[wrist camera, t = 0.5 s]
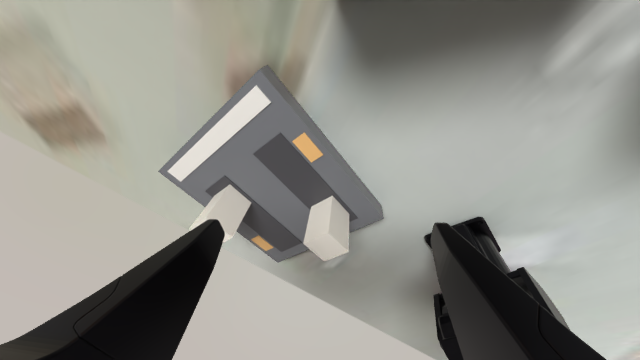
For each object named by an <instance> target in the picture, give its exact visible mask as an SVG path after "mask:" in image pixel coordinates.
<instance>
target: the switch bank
mask: <svg viewBox="0 0 640 360" xmlns="http://www.w3.org/2000/svg"><path fill="white" fill-rule="evenodd" d="M158 172H160V173H161V174H162V175H164V176H165V177H166V178H167V179H169V180H170V181H171V182H173V183H174V184H175V185H177V186H178V187H179V188H181V189H182V190H183V191H185V192H186V193H187V194H188V195H190V196H191V197H192V198H194V199H195V200H196V201H198V202H199V203H200V204H202V205H203V206H204V207H206V206H207V205H208V203H209V202H210V201H211V199H212V198H213V197H214V196H215V195H216V194H217V193H219V192H220V191H221V190H223V189H224V188H226V187H227V186H228V185H231V186H233V187H234V188H235V189H236V190H237V191H238V192H240V193H241V194H242V195H243V196H244V197H245V198H247V199H248V200H249V201H250V202H251V204H250V206H249V208H248V210H247V212H246V214H245V216H244V217H243V219H242V221H241V223H240V225H239V227H238V229H237V230H236V231H237V232H238V233H240V234H241V235H242V236H244V237H245V238H246V239H247V240H249V241H250V242H251V243H253V244H254V245H255V246H257V247H258V248H259V249H261V250H262V251H263V252H265V253H266V254H267V255H268V256H270V257H271V258H272V259H274V260H275V261H276V262H280V261H283V260H285V259H287V258H290V257H292V256H295V255H297V254H299V253H302V252H304V251H307V250H309V248H308V247H307V246H305V245H304V244H303V242H304V238H305V233H306V228H307V224H308V219H309V215H310V210H311V207H312V206H314V205H316V204H317V203H319V202H321V201H323V200H325V199H327V198H329V197H331V196H333V197H334V198H335V199H336V200H337V201H338V202H339V203H340V204H341V205H342V207H343V208H344V209H345V210H346V211H347V212H348V213H349V233H350V232H352V231H355V230H357V229H359V228H362V227H364V226H367V225H369V224H371V223H374V222H376V221H379V220H381V219H383V212H382V206H381V204H380V203H379V202H378V201H377V200H376V198H375V197H374V196H373V195H372V193H371V192H370V191H369V190H368V188H367V187H366V186H365V185H364V183H363V182H362V181H361V180H360V178H359V177H358V176H357V175H356V174H355V172H354V171H353V170H352V169H351V167H350V166H349V165H348V164H347V162H346V161H345V160H344V159H343V157H342V156H341V155H340V154H339V152H338V151H337V150H336V149H335V148H334V146H333V145H332V144H331V143H330V141H329V140H328V139H327V138H326V136H325V135H324V134H323V133H322V131H321V130H320V129H319V128H318V127H317V125H316V124H315V123H314V122H313V120H312V119H311V118H310V117H309V115H308V114H307V113H306V112H305V110H304V109H303V108H302V107H301V105H300V104H299V103H298V102H297V101H296V99H295V98H294V97H293V96H292V94H291V93H290V92H289V91H288V89H287V88H286V87H285V86H284V84H283V83H282V82H281V81H280V79H279V78H278V77H277V76H276V75H275V73H274V72H273V71H272V70H271V68H270V67H269V66H268V65H266V66H264V67H263V68H261V69H259V70H258V71H257V72H256V73H255V74H254V75H253V76H252V77H251V78H250V79H249V80H248V81H247V82H246V83H245V84H244V85H243V86H242V87H241V88H240V89H239V90H238V91H237V92H236V93H235V94H234V95H233V97H232V98H231V99H230V100H229V101H228V102H227V103H226V104H225V105H224V106H223V107H222V108H221V109H220V110H219V111H218V112H217V113H216V114H215V115H214V116H213V117H212V118H211V119H210V120H209V121H208V122H207V123H206V124H205V125H204V126H203V127H202V128H201V129H200V130H199V131H198V132H197V133H196V134H195V135H194V136H193V137H192V138H191V139H190V140H189V141H188V142H187V143H186V144H185V145H184V146H183V147H182V148H181V149H180V150H179V151H178V152H177V153H176V154H175V155H174V156H173V157H172V158H171V159H170V160H169V161H168V162H167V163H166V164H165V165H164V166H163V167H162V168H161V169H160V170H159V171H158Z"/></svg>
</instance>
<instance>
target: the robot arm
mask: <svg viewBox="0 0 640 360" xmlns="http://www.w3.org/2000/svg"><path fill="white" fill-rule="evenodd" d="M224 237H225V232H224V230H223V228H222V226H221V224H220V222H219V220H217V219H208V220H206V221H205V222H203V223H202V224H200V225H199V226H197V227H196V228H194V229H192V230H191V231H189V232H188V233H186V234H185V235H183V236H182V237H180V238H179V239H177V240H176V241H174V242H173V243H171V244H169V245H168V246H166V247H165V248H163V249H162V250H161V251H159V252H157V253H156V254H154V255H153V256H151V257H150V258H148V259H146V260H145V261H143V262H142V263H140V264H139V265H137V266H136V267H134V268H133V269H131V270H130V271H128V272H127V273H125V274H123V276H121V277H119V278H117V279H116V280H114V281H113V282H111V283H110V284H108V285H106V286H105V287H103V288H102V289H100V290H99V291H97V292H95V293H94V294H92V295H91V296H89V297H87V298H86V299H84V300H82V301H81V302H79V303H77V304H76V305H74V306H72V307H71V308H69V309H67V310H65V311H64V312H62V313H60V314H59V315H57V316H56V317H54V318H52V319H50V320H48V321H47V322H45V323H44V324H42V325H40V326H38V327H37V328H35V329H33V330H31V331H30V332H28V333H26V334H24V335H22V336H20V337H19V338H16V339H14V340H12V341H9V342H7V343H4V344H1V345H0V360H172V358H173V356H174V354H175V352H176V349H177V347H178V345H179V343H180V341H181V339H182V336H183V334H184V332H185V330H186V328H187V326H188V323H189V321H190V319H191V317H192V315H193V313H194V310H195V308H196V306H197V304H198V302H199V299H200V297H201V295H202V293H203V291H204V289H205V286H206V284H207V282H208V280H209V277H210V275H211V273H212V271H213V269H214V265H215V263H216V260H217V257H218V254H219V252H220V249H221V246H222V243H223V240H224ZM425 240H426V242H427V243H428V245H429V246H430V247H431V249H432V251H433V256H434V261H435V266H436V271H437V276H438V281H439V284H440V288H441V291H442V293H441V294H439V293H438V294H435V295H434V307H435V317H436V326H437V336H438V340H439V342H440V346H441V348H442V349H443V350H444V352H445V354H446V356H447V358H448V359H449V360H606V359H605V358H604V357H602V356H601V355H600V354H599V353H597V352H596V351H595V350H594V349H592V348H591V347H590V346H589V345H587V344H586V343H585V342H584V341H582V340H581V339H580V338H579V337H577V336H576V335H575V334H574V333H573V332H571V331H570V329H569V327H568V325H567V324H566V322H565V320H564V318H563V317H562V315H561V314H560V312H559V311H558V309H557V308H556V307H555V305H554V304H553V302H552V301H551V300H550V298H549V297H548V295H547V294H546V293H545V291H544V290H543V289H542V288H541V286H540V285H539V284H538V283H537V282H536V281H535V280H534V278H533V277H532V276H531V275H530V274H529V273H528V272H527V270H526V269H525V268H524V267H521V268H518V269H517V270H516V271H512V272H511V271H510V270H509V268H508V266H507V265H506V263H505V261H504V260H503V258H502V257H501V255H500V253H499V252H500V251H501V249H500V247H499V245H498V244H497V242H496V240H495V238H494V236H493V234H492V232H491V231H490V229H489V227H488V225H487V223H486V221H485V220H484V218H483V217H477V218H474V219H471V220H469V221H466V222H463V223H460V224H457V225H454V226H450V225H449V224H447V223H435V224H434V226H433V230H432V233H431V234H428V235H426V236H425Z"/></svg>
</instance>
